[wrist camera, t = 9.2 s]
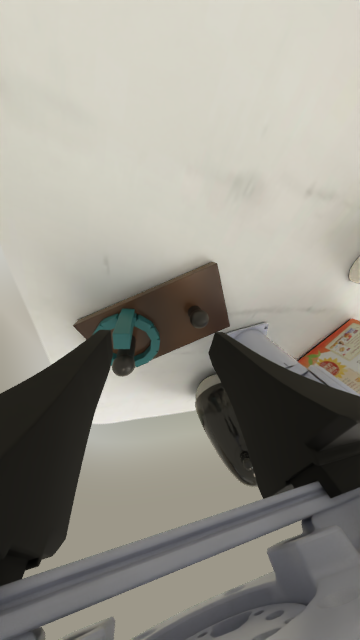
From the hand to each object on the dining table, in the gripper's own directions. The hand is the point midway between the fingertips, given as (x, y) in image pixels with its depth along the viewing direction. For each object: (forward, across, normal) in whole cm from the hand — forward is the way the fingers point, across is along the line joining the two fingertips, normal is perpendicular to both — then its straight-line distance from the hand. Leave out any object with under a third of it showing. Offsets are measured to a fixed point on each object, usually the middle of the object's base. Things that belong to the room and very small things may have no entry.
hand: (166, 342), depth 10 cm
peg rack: (+10, -1, +4) cm, 11 cm away
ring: (+9, +4, +6) cm, 11 cm away
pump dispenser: (+11, -14, +19) cm, 26 cm away
